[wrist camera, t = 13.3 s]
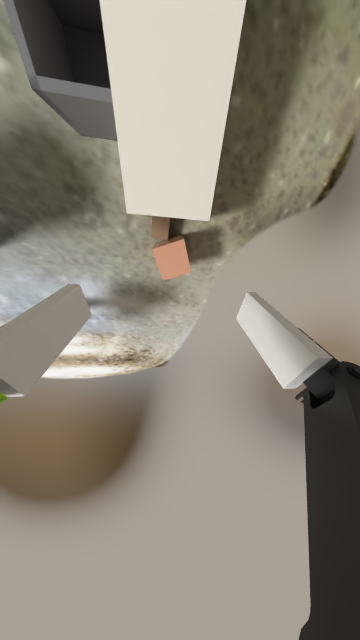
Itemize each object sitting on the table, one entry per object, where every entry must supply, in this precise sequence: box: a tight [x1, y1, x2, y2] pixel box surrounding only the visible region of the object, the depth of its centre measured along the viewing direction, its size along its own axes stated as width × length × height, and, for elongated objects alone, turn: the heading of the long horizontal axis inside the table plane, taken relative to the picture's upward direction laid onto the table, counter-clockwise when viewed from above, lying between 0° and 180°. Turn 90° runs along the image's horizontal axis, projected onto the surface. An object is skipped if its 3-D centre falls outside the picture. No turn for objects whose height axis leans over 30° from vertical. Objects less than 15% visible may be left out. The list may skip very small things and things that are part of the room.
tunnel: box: [3, 0, 246, 221], centre depth 13 cm, size 14×15×8 cm
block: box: [152, 235, 191, 280], centre depth 21 cm, size 4×4×6 cm
